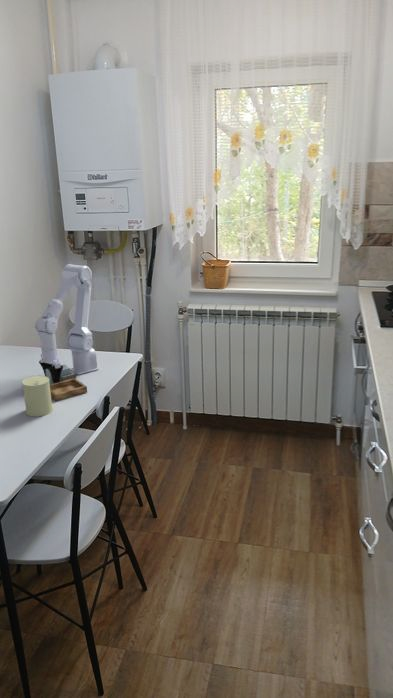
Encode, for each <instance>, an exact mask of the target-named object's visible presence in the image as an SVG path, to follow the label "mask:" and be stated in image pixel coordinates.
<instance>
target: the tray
mask: <svg viewBox="0 0 393 698" xmlns="http://www.w3.org/2000/svg"><path fill="white" fill-rule="evenodd" d="M50 393H51V400H53V401H55V402H58V401H62V400H66V399H70V398H72V397H76V396H80V395H82V394H87V393H88V387H87V385H85V384H84V383H83V382H82V381H79V379H77V378H76V379H75V378H73V379H70V380H66V381H62V382H58V383H55V384H51V385H50Z"/></svg>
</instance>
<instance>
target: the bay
mask: <svg viewBox="0 0 393 698" xmlns="http://www.w3.org/2000/svg"><path fill="white" fill-rule="evenodd" d="M73 378H75V379H77V374H76V373H74V372H73V371H71V370H70V375H66V376H62V381H66V380H70V379H73Z"/></svg>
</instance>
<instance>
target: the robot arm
mask: <svg viewBox="0 0 393 698" xmlns="http://www.w3.org/2000/svg"><path fill="white" fill-rule="evenodd" d="M92 276H93V272H92V269H91V268H90V267H89V266H87V265H77V264H72V263H68V264H66V265H65V266H64V268H63V270H62V272H61V277H62V279H61V282H60V284H59V286H58V289H57V291H56V294H55V296H54V298H52V299H50V300H49V301H48V302H47V305H46V307H45V310H44V312H43V314H42V315H41V316H40V317H39V318H37V320H36V321H35V325H34V328H35V330H36V331H37V333H38V336H39V340H40V341H39V342H40V348H41V350H40V351H41V353H40V359H39V361H38V364H39V365H40V366H41V367H42V368H41V369H42V370H43V373H44V376H46V370H45V369H48V370H49V371H50V373H51V376H52V380H53V383H54V384H55V383H58V382H59V381H60V375H61V371H62V369H63V366H62V365H63V364H61V362H60V361H59V355H58V348H57V340H56V331H57V330H58V323H59V317H60V315H61V314H62V312H63V310H64V303H63V302H64V301H65V299H66V298H67V296H68V294H69V292H70V291H71V289H72V288H73V287H76V289H77V292H76V301H75V312H74V321H73V323H74V324H73V327H72V328H70V329H69V330H68V336H67V337H66V345H67V347H68V348H69V350H70V351H71V358H72V367H71V368H70V367H69V368H70V371H72V372H73V373H75V374H76V376H77V375H78V376H79V375H83V374H87V373H91V372H94V371H97V370H99V368H98V362H97V352H96V350H95V349H94V348H93V345H94V341H93V333H92V331H91V330H90V329H89V328H88V326H89V325H88V323H89V318H90V317H89V315H90V307H91V306H90V304H91V294H92V285H93V284H92V279H93V278H92Z"/></svg>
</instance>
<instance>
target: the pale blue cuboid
mask: <svg viewBox="0 0 393 698" xmlns="http://www.w3.org/2000/svg"><path fill="white" fill-rule="evenodd" d="M61 365H62V366H63V369H62V371H61V375H60V381H59V382H62V376H66V375H70V371H71V370H70V367H69V366H67V365H66V364H61ZM45 370H46V377H48V378H49V384H50V385H51V384H54V383H53V380H52V376H51V373H50V371H49V370H48V369H45Z"/></svg>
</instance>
